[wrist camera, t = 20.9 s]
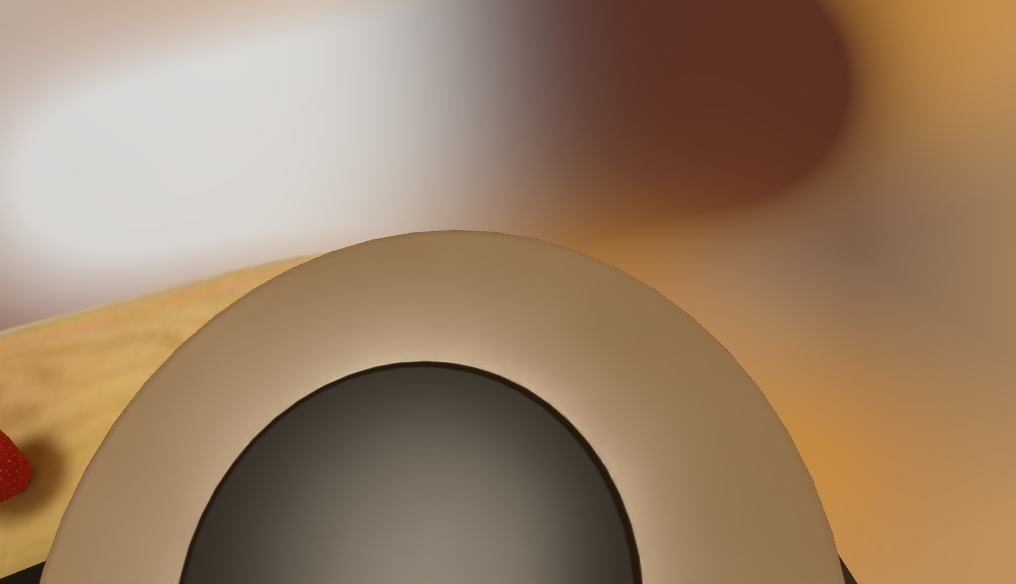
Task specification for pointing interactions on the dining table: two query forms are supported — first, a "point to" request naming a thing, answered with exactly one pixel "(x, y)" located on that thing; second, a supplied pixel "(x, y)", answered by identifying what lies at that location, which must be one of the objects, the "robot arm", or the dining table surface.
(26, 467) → the fruit
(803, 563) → the steel carafe
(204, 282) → the dining table surface
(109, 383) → the dining table surface
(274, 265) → the dining table surface
